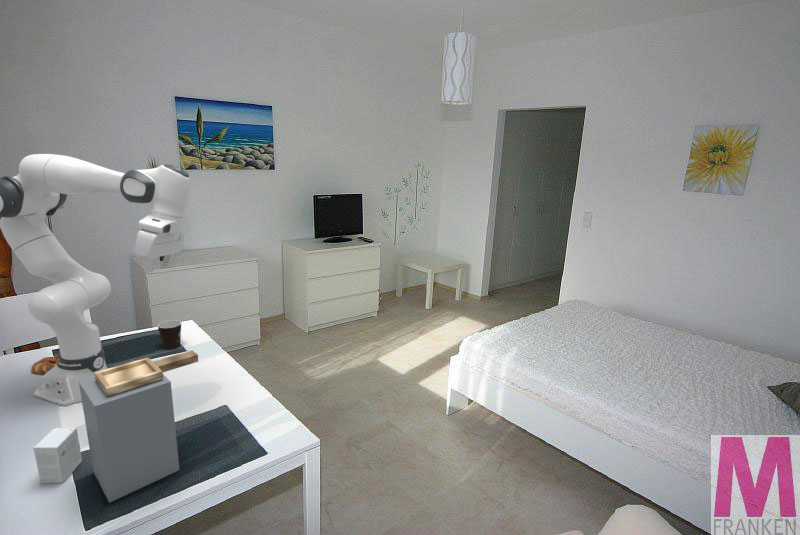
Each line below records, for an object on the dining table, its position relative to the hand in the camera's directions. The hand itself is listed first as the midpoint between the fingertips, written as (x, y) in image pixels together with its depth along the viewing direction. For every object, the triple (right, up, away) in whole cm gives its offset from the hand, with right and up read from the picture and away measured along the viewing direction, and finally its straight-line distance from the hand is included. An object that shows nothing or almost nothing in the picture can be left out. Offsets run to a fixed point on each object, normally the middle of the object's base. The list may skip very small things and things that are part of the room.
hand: (156, 269), depth 129 cm
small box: (-16, -52, -15) cm, 56 cm away
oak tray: (+7, -26, -16) cm, 31 cm away
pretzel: (-57, -37, +34) cm, 76 cm away
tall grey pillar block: (+2, -52, -13) cm, 54 cm away
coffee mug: (-24, -32, +57) cm, 69 cm away
